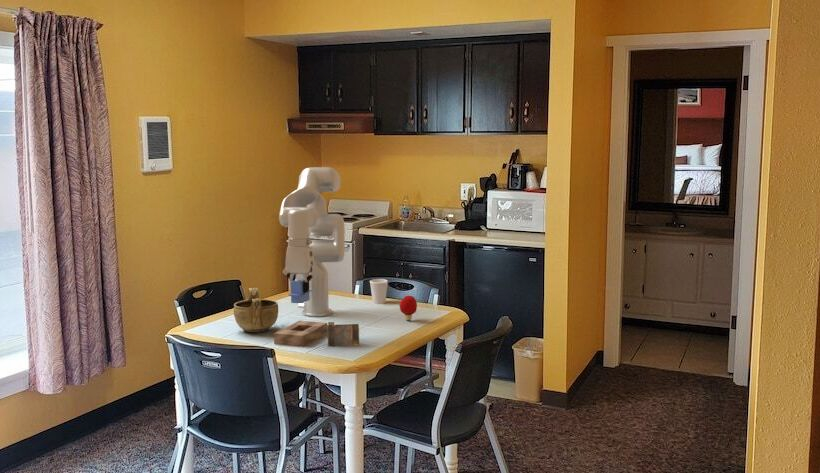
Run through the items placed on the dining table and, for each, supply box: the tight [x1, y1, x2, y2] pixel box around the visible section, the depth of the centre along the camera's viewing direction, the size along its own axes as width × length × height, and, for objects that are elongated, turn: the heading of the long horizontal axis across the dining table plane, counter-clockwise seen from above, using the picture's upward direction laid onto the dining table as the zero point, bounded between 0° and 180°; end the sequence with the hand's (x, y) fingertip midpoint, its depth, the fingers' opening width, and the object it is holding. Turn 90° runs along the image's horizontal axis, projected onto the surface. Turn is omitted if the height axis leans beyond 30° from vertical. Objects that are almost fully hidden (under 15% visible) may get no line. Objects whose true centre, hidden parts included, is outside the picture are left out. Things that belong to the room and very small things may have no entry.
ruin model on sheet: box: [327, 321, 360, 347], centre depth 285 cm, size 11×3×10 cm, turn 97°
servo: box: [288, 277, 312, 304], centre depth 292 cm, size 11×4×9 cm, turn 161°
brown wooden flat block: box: [273, 320, 328, 348], centre depth 294 cm, size 12×20×4 cm, turn 161°
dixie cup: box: [369, 278, 389, 305], centre depth 354 cm, size 8×8×10 cm
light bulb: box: [399, 295, 418, 322], centre depth 320 cm, size 9×7×10 cm
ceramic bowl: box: [233, 287, 279, 333], centre depth 306 cm, size 22×17×15 cm
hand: (300, 291), depth 292 cm, fingers closed on servo, 4 cm apart
